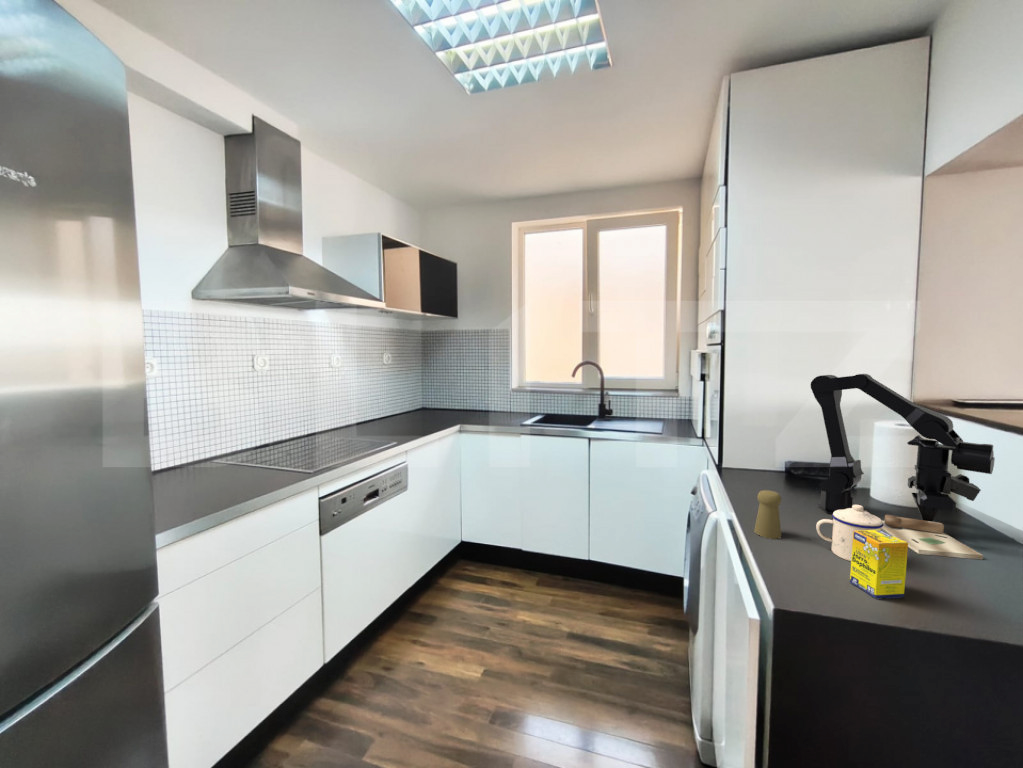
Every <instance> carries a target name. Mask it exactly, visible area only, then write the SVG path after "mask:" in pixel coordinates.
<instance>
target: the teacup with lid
mask: <svg viewBox="0 0 1023 768" xmlns="http://www.w3.org/2000/svg"><path fill="white" fill-rule="evenodd" d="M831 516H832V518H833V519H828V518H823V519H820V520H818V521H817V522H816V524H815V525H816V526H815V527H816V532H817V534H818V536H819V537H820V538H821V539H822V540H824V541H827V542H831V552H832V553H833V554H834V555H835V556H837V557H839V558H840V559H843V560H846V561H848V562H851V557H852V542H853V531H858V530H881V531H883V529H882V527H883V522H882V521H883V520H882V519H881V518H880V517H878V516H876V515H875V514H872V513H870V512H869V511H867V510H864V506H863V505H859V504H852V508H848V509H843V510H836V511H834V512H833V514H831ZM822 524H831V525H832V532H831V533H832V535H831V537H828V536H826V535H825V534H823V533H822V531H821V529H820V528H821V525H822Z"/></svg>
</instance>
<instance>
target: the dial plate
mask: <svg viewBox="0 0 1023 768" xmlns="http://www.w3.org/2000/svg"><path fill="white" fill-rule="evenodd" d="M882 522H883V527H882V531H884V532H885V533H887V534H889V535H891V536H894V537H896V538H898V539H900V540H902V541H905V542H907V543H908V549H911V550H912V551H913V552H915V553H916V554H918V555H928V556H929V555H930V556H940V557H949V558H961V559H970V560H971V559H975V560H983V559H984V555H983V554H981V553H980V552H978V551H977V550H974V549H973V548H971V547H969V546H968V545H966V544H964V543H963V542H961V541H959V540H957V539H956V538H954V537H952V536H950V535H948V534H947V533H945V532H943V533H937V532H931V531H924V530H917V529H910V528H903V527H891V526H888V525H885V520H882Z"/></svg>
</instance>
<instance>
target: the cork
mask: <svg viewBox="0 0 1023 768" xmlns="http://www.w3.org/2000/svg"><path fill="white" fill-rule="evenodd" d="M757 502H759V505H758V510H757V515H756V520H755V524H754V530H753V533H754V532H755V533H756V534H758V535H760V536H762V537H761V538H763V537H766V538H765V539H767V538H771V539H770V540H778V539H777V538H780V537H781V536H782V528H781V520H780V510H779V507H780V506H781V503H782V496H781V494H780V493H779V492H777V491H774V490H768V489H766V490H765V489H764V490H763V489H762V490H759V492H758V494H757ZM755 533H754V534H755ZM756 534H755V535H756ZM758 535H757V536H758ZM760 536H759V537H760ZM781 538H782V537H781ZM781 538H780V539H781Z"/></svg>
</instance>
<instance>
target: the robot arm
mask: <svg viewBox="0 0 1023 768" xmlns="http://www.w3.org/2000/svg"><path fill="white" fill-rule="evenodd" d="M810 389H811V392H812V393H813V397H814V399H815V400H816V402H817V403H818V404H819V406H820V408H821V412H822V417H823V422H824V426H825V431H826V435H827V436H826V437H827V441H828V447H829V452H830V455H831V456H830V462H829V466H828V467H829V470H828V471H829V474H828V478H826V479H824V480H823V481H821V482H819V484H818V485H819V487H820V492H821V494H820V504H817V507H818V508H820V509H821V510H822V511H824V512H825V513H826V514H829V515H832V514H833V512H834V511H836V510H843V509H848V508H852V506H853V502H854V501H853V499H854V497H852V492H851V491H850V490H851V489H852V487H853V486H855V485H857V484H859V483H860V482H861V480H862V476H863V475H864V474H865V473H864V471H863V469H862V462H861V459H857V460H855V459H854V457H853V456H852V454H851V452H850V447H849V442H848V437H847V436H848V435H847V433H846V426H845V423H844V418H843V413H842V409H841V401H842V395H843V390H844V391H845V390H854V389H858V390H860V391H861V392H863V393H864V394H866V395H868V396H869V397H871V398H872V399H874V400H876V401H877V402H879V403H880V404H882V405H884V406H885V407H887V408H888V409H890V410H891V411H893V412H895V414H898V415H899V416H900V417H901V418H903V419H904V420H905V421H906V422H907V423H908V425H909V426H910V427H912V428H913V429H914V431H916V432H917V433H918V434H917V435H916V436H915V437H914V438H912V439H911V440H909V441H907V443H906V444H907V445H909V446H915V447H916V446H917V453H916V454H917V455H916V464H914V470H915V475H912V476H911V477H909V478H908V479H907V487H908V488H909V489H913V487H914V489H915V492H911V496H912V497H913V500H914V503H915V505H916V508H917V510H918V513H919V515H920V517H921V520H925V521H932V522H934V520H935V519H934V518H935V516H936V515H937V513H938V511H939V510H943V511H945V510H946V511H951V512H956V509H957V507H956V506H957V502H956V500H954V499H953V498H952V497H951V496H950V495H951V493H953V494H956V495H958V496H961V497H963V498H966V500H969V501H972V502H974V501H975V499H976V498H977V496H978V495H979V494H980V492H981V491H982V489H980V488H979V486H977V485H975V484H974V483H973V482H972V483H971V482H970V478H969V477H968V476H967V475H964V474H961V473H960V474H957V475H955V476H954V475H952V473H951V472H949V462H950V463H951V465H953V466H955V467H956V468H957V470H962V471H968V472H973V473H975V472H976V473H981V474H988V475H992V474H993V471H994V467H995V456H994V445H993V444H991V443H989V444H988V443H977V442H976V443H974V442H968V441H964V440H963V439H962V437H961V436H960V435H959V434H958V433H957V432H956V431H955V429H954V424H953V420H952V419H950V418H949V416H946V415H944V414H941V413H939V412H936V411H935V410H932V409H929V408H926V407H923V406H922V405H919V404H916V403H914V402H912V401H911V400H909V399H908V398H906V397H905V396H903V395H902V394H900V393H897V392H896V391H895V390H893V389H891V388H889V387H887V386H886V384H885V385H884V384H883V383H881V382H879V381H878V380H877V379H875V378H873V377H872V375H870V374H868V373H857V374H855V375H849V376H848V375H847V376H840V377H839V376H836V375H835V374H834V375H833V374H822V375H817V376H816V377H814V378H813V379H812V381H811V382H810ZM923 437H924V438H923ZM950 451H951V457H950ZM949 458H950V459H949ZM949 460H950V461H949Z"/></svg>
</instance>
